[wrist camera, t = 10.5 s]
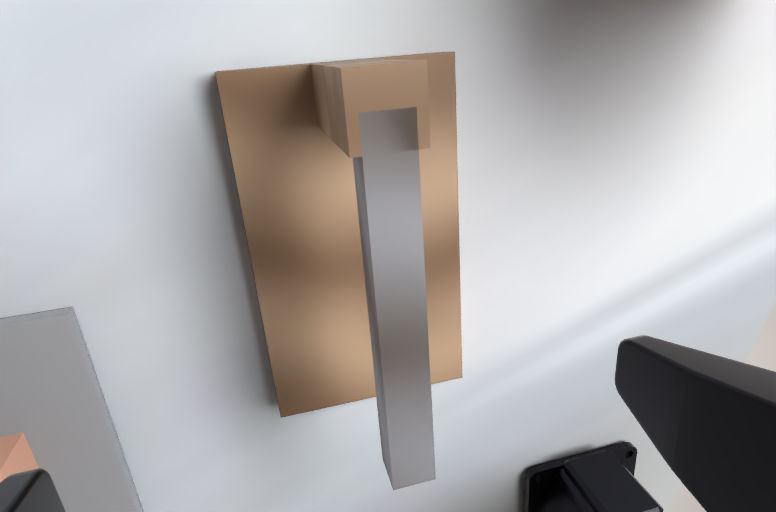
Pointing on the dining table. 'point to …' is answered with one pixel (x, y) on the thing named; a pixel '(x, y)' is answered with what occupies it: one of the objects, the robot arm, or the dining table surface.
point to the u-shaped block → (15, 455)
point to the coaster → (62, 411)
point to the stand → (354, 235)
